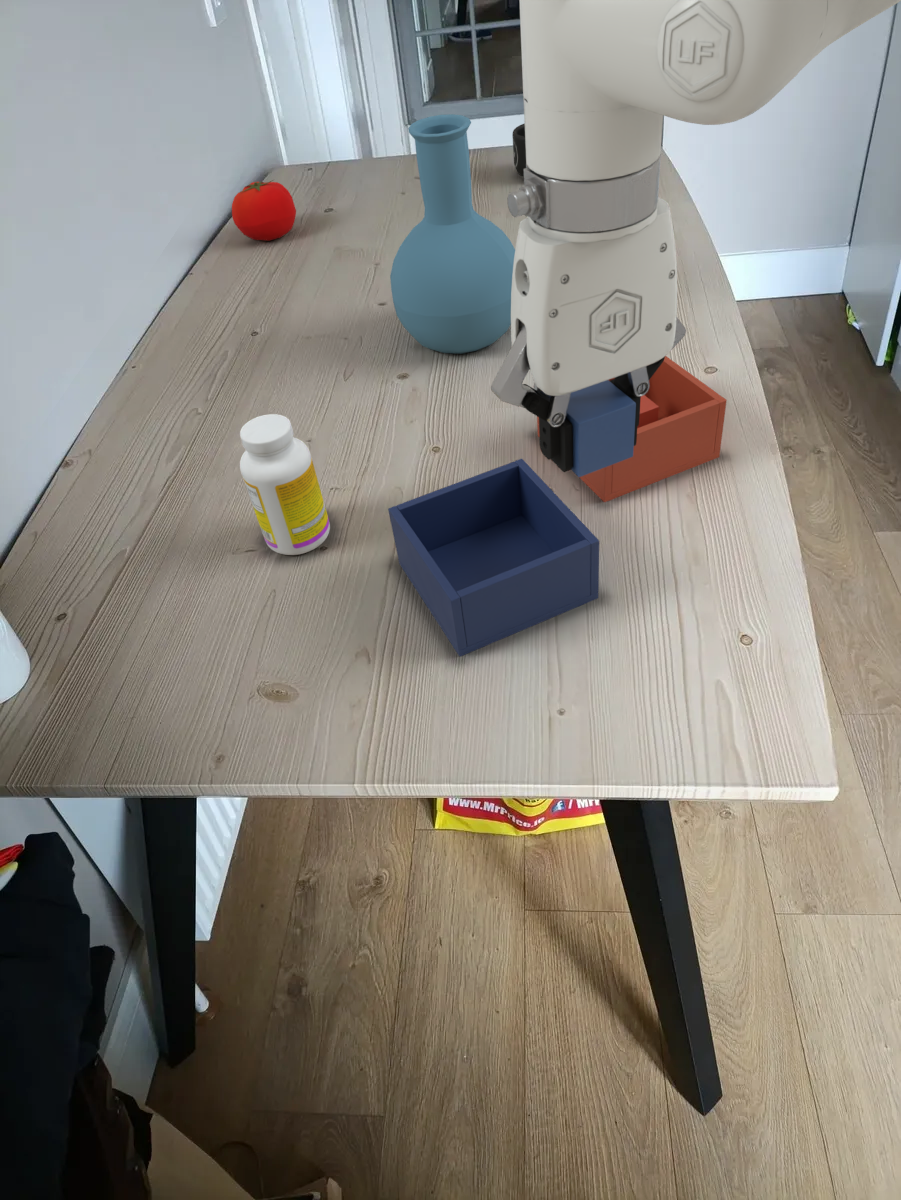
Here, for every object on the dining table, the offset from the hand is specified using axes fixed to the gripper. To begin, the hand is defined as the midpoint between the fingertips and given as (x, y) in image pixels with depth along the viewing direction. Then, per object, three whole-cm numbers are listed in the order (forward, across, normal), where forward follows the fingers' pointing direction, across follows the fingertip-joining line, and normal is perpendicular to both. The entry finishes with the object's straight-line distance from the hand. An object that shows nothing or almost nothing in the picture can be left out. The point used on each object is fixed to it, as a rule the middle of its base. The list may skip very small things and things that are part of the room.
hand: (589, 447), depth 64 cm
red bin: (+18, +16, +19) cm, 31 cm away
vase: (+18, +12, +51) cm, 55 cm away
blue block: (0, 0, 0) cm, 0 cm away
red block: (+17, +16, +19) cm, 30 cm away
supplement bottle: (+18, -19, +24) cm, 36 cm away
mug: (+18, +48, +92) cm, 105 cm away
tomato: (+18, 0, +99) cm, 101 cm away
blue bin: (+18, -5, +8) cm, 20 cm away
